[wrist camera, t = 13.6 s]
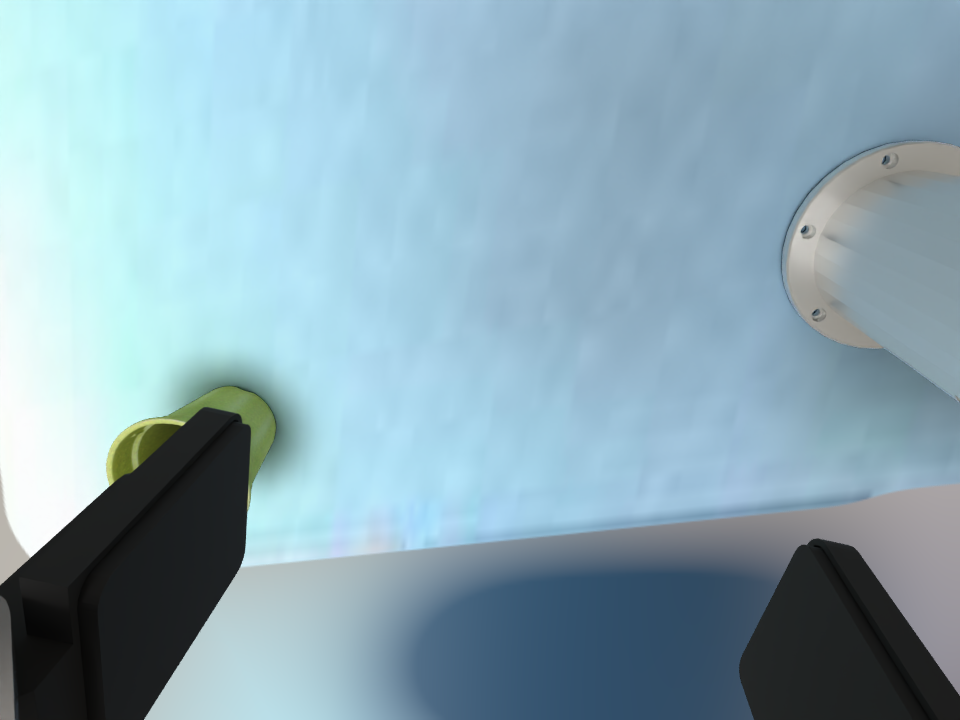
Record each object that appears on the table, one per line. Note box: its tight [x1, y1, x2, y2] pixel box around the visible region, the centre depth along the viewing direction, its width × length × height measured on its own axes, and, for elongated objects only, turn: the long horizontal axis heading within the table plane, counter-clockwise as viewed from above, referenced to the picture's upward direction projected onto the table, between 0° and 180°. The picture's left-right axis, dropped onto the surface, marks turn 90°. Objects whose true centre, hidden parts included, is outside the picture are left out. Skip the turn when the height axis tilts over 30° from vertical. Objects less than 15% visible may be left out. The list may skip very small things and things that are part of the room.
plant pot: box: [106, 386, 276, 511], centre depth 43 cm, size 9×9×9 cm
